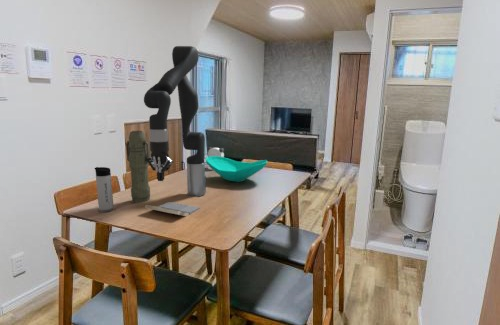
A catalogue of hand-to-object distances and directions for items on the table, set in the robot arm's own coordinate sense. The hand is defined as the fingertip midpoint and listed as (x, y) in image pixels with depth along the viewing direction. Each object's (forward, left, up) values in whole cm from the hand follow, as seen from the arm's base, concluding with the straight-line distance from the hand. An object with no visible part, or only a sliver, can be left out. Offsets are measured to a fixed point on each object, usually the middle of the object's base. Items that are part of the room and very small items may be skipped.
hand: (160, 180), depth 140 cm
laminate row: (-11, 0, -17) cm, 20 cm away
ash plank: (-2, 0, -15) cm, 15 cm away
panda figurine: (-93, -31, -17) cm, 99 cm away
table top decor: (-70, -2, -17) cm, 72 cm away
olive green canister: (-13, -25, -17) cm, 33 cm away
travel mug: (+4, -30, -17) cm, 34 cm away
